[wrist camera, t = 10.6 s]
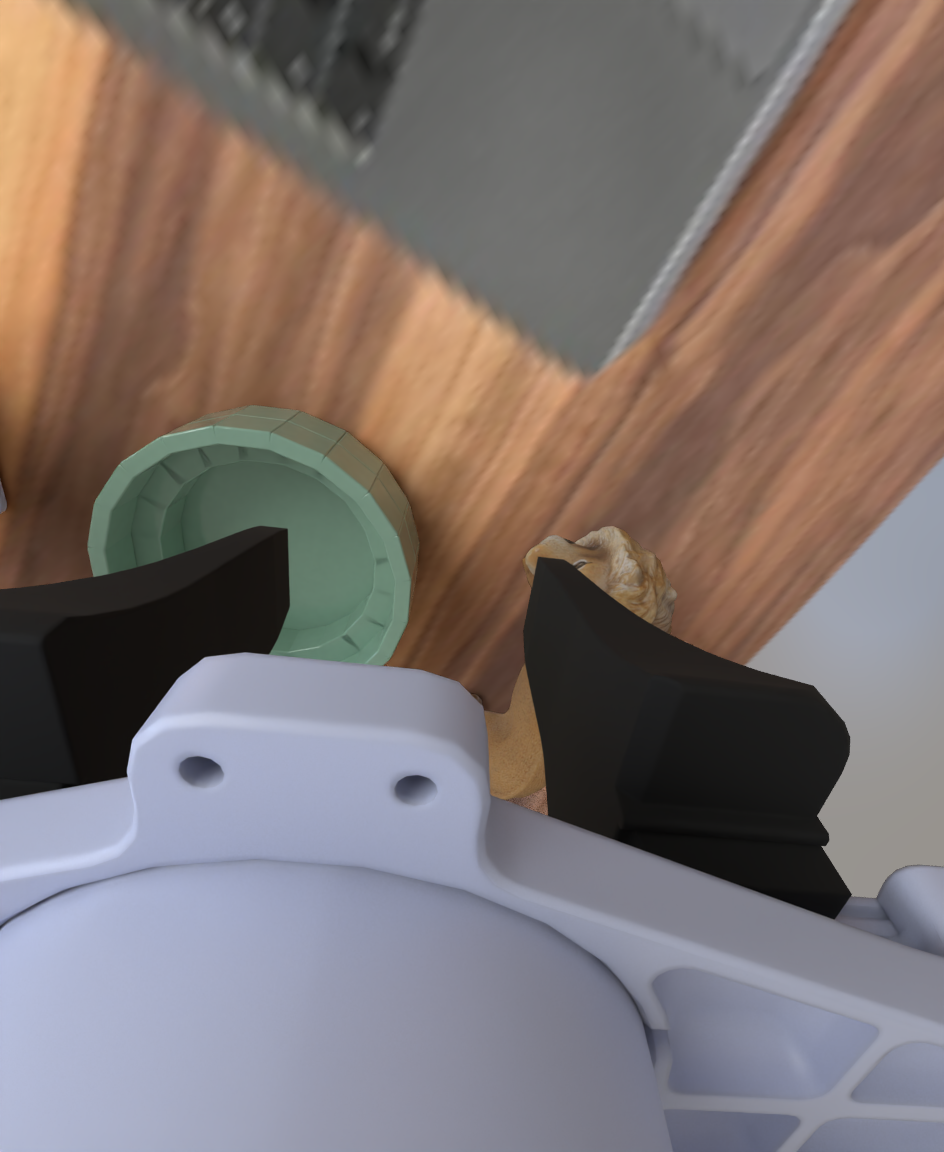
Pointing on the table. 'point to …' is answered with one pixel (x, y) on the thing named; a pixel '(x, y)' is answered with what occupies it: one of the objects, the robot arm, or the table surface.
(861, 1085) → the robot arm
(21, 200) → the table surface
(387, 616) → the bowl
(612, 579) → the lion figurine
